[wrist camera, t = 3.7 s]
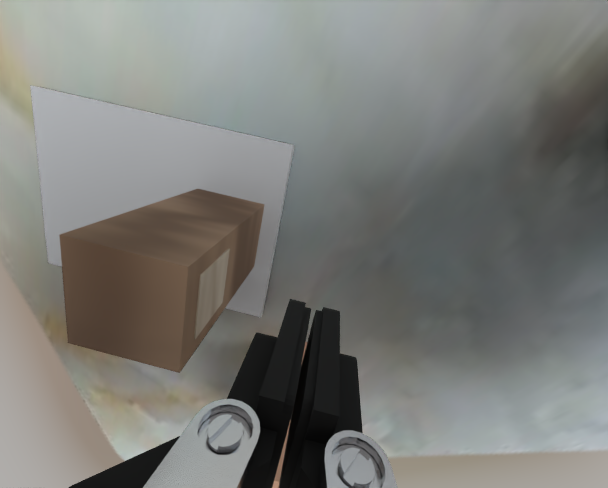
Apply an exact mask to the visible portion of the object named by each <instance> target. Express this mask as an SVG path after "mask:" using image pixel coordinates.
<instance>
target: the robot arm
mask: <svg viewBox="0 0 608 488" xmlns="http://www.w3.org/2000/svg"><path fill="white" fill-rule="evenodd" d="M305 304H306V303H304V302H300V301H296V300H292V299H290V301H289V304H288V307H287V310H286V313H285V316H284V319H283V322H282V326H281V329H280V332H279V335H278V338H277V337H273V336H269V335H265V334H261V333H256V334H255V336H254V339H253V341H252V343H251V345H250V348H249V350H248V352H247V354H246V357H245V359H244V361H243V364H242V366H241V368H240V370H239V373H238V375H237V377H236V379H235V382H234V384H233V386H232V389H231V391H230V393H229V395H228V398H227V399H221V400H217V401H213V402H211V403H209V404H208V405H206V406H204V407H203V408H202V409H201V410H200V411H199V412H198V413H197V414H196V415H195V417H194V418H193V419H192V421H191V422H190V424H189V425H188V426H187V428H186V429H185V430H184V432H183V433H182V435H181V436H179V437H177V438H175V439H173V440H170V441H168V442H166V443H164V444H162V445H159V446H157V447H155V448H153V449H151V450H149V451H146V452H144V453H142V454H140V455H138V456H135V457H133V458H131V459H129V460H127V461H125V462H122V463H120V464H118V465H116V466H114V467H112V468H109V469H107V470H105V471H103V472H101V473H98V474H96V475H94V476H92V477H90V478H88V479H85V480H83V481H81V482H79V483H77V484H74V485H72V486H71V487H69V488H272V487H273V483H274V479H275V475H276V472H277V468H278V464H279V460H280V457H281V453H282V449H283V445H284V442H285V438H286V434H287V430H288V427H289V432H288V437H287V443H286V449H285V454H284V460H283V465H282V471H281V477H280V482H279V488H397V484H396V481H395V477H394V474H393V470H392V467H391V465H390V462H389V460H388V457H387V455H386V454H385V453H384V451H383V450H382V448H381V447H380V446H379V445H378V444H377V443H376V442H375V441H374V440H373V439H371V438H370V437H368V436H366V435H364V434H363V433H362V421H361V408H360V395H359V381H358V368H357V359H356V358H355V357H352V356H348V355H344V354H340V311H337V310H332V309H328V308H324V307H323V309H322V311H318V310H316V312H315V316H314V319H313V323H312V327H311V331H310V335H309V338H308V342H307V346H306V350H305V354H304V358H303V353H304V347H305V341H306V336H307V330H308V324H309V318H310V313H311V309H310V308H306V307H305ZM302 358H303V361H302ZM301 364H302V365H301ZM290 419H291V421H290ZM289 423H290V426H289Z"/></svg>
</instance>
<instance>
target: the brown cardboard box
mask: <svg viewBox="0 0 608 488" xmlns="http://www.w3.org/2000/svg"><path fill="white" fill-rule="evenodd" d="M264 205H265V204H261V203H257V202H253V201H248V200H244V199H240V198H236V197H232V196H227V195H223V194H219V193H215V192H211V191H206V190H202V189H195V190H192V191H189V192H186V193H183V194H180V195H177V196H174V197H171V198H168V199H165V200H162V201H159V202H156V203H153V204H150V205H147V206H144V207H141V208H138V209H135V210H132V211H129V212H126V213H123V214H120V215H117V216H114V217H111V218H108V219H105V220H102V221H99V222H96V223H93V224H90V225H87V226H84V227H81V228H78V229H75V230H72V231H69V232H66V233H63V234H60V235H59V236H60V249H61V261H62V273H63V285H64V297H65V310H66V322H67V334H68V343H70V344H74V345H78V346H82V347H85V348H89V349H93V350H97V351H100V352H104V353H108V354H111V355H115V356H119V357H123V358H126V359H130V360H134V361H138V362H141V363H145V364H149V365H153V366H156V367H160V368H164V369H167V370H171V371H175V372H179V373H180V371H181V370H182V369H183V367H184V366H185V364H186V363H187V361H188V360H189V359H190V357H191V356H192V354H193V353H194V352H195V350H196V349H197V347H198V346H199V344H200V343H201V342H202V340H203V339H204V337H205V336H206V334H207V333H208V332H209V330H210V329H211V327H212V326H213V324H214V323H215V322H216V320H217V319H218V317H219V316H220V315H221V313H222V312H223V310H224V309H225V307H226V306H227V305H228V303H229V302H230V300H231V299H232V297H233V296H234V295H235V293H236V292H237V290H238V289H239V287H240V286H241V285H242V283H243V282H244V280H245V279H246V277H247V276H248V275H249V273H250V272H251V270H252V269H253V268H254V265H255V259H256V253H257V247H258V241H259V235H260V229H261V223H262V217H263V211H264Z"/></svg>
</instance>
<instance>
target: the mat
mask: <svg viewBox="0 0 608 488" xmlns="http://www.w3.org/2000/svg"><path fill="white" fill-rule="evenodd" d="M30 87H31V97H32V107H33V117H34V127H35V137H36V147H37V157H38V167H39V177H40V187H41V197H42V207H43V217H44V227H45V237H46V247H47V257H48V263H50V264H53V265H57V266H61V267H62V261H61V249H60V236H59V235H60V234H63V233H66V232H69V231H72V230H75V229H78V228H81V227H84V226H87V225H90V224H93V223H96V222H99V221H102V220H105V219H108V218H111V217H114V216H117V215H120V214H123V213H126V212H129V211H132V210H135V209H138V208H141V207H144V206H147V205H150V204H153V203H156V202H159V201H162V200H165V199H168V198H171V197H174V196H177V195H180V194H183V193H186V192H189V191H192V190H195V189H202V190H206V191H211V192H215V193H219V194H223V195H227V196H232V197H236V198H240V199H244V200H248V201H253V202H257V203H261V204H265V205H264V211H263V217H262V223H261V229H260V235H259V241H258V247H257V253H256V259H255V265H254V268H253V269H252V270H251V272H250V273H249V275H248V276H247V277H246V279H245V280H244V282H243V283H242V285H241V286H240V287H239V289H238V290H237V292H236V293H235V295H234V296H233V297H232V299H231V300H230V302H229V303H228V305H227V306H226V307H225V309H229V310H233V311H237V312H241V313H245V314H249V315H253V316H257V317H261V316H262V314H263V311H264V306H265V300H266V295H267V290H268V285H269V280H270V274H271V269H272V264H273V259H274V253H275V248H276V243H277V238H278V232H279V227H280V222H281V217H282V211H283V206H284V201H285V196H286V190H287V185H288V180H289V175H290V169H291V164H292V159H293V154H294V148H295V145H293V144H288V143H284V142H279V141H275V140H271V139H266V138H262V137H257V136H253V135H249V134H244V133H240V132H236V131H231V130H227V129H222V128H218V127H214V126H209V125H205V124H200V123H196V122H192V121H187V120H183V119H178V118H174V117H170V116H165V115H161V114H157V113H152V112H148V111H143V110H139V109H135V108H130V107H126V106H121V105H117V104H113V103H108V102H104V101H100V100H95V99H91V98H86V97H82V96H78V95H73V94H69V93H64V92H60V91H56V90H51V89H47V88H42V87H37V86H32V85H30Z"/></svg>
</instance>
